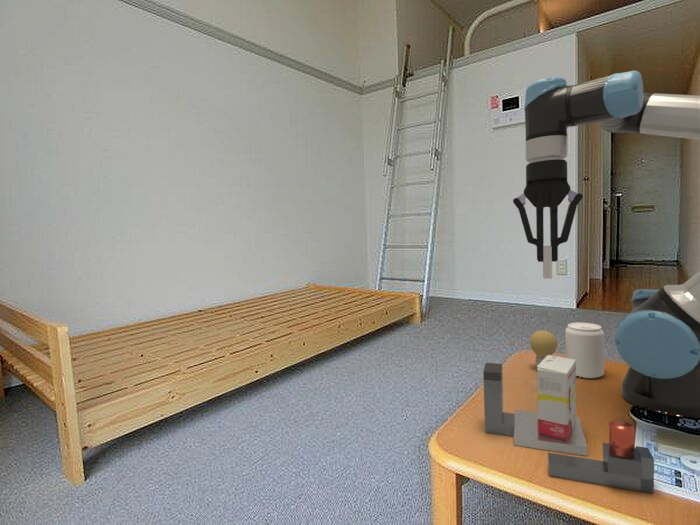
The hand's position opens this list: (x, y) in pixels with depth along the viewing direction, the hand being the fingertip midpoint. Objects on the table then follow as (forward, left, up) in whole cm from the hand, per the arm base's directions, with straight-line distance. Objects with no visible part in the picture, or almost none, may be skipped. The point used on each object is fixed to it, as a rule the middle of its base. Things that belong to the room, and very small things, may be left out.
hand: (547, 277), depth 84 cm
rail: (-5, +26, -26) cm, 38 cm away
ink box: (-1, +15, -25) cm, 29 cm away
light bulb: (0, -20, -27) cm, 33 cm away
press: (+4, +15, -26) cm, 31 cm away
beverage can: (-9, -19, -27) cm, 34 cm away
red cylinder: (-8, +26, -24) cm, 37 cm away
